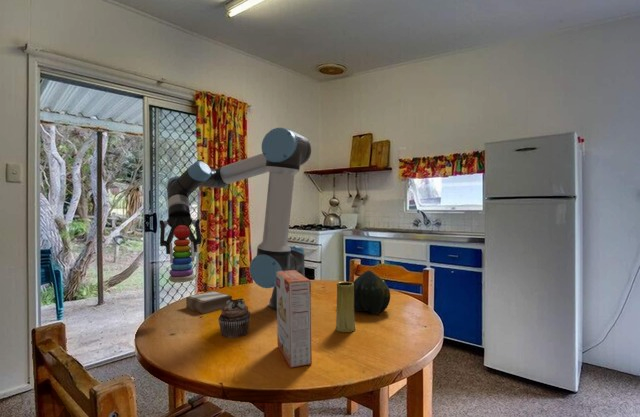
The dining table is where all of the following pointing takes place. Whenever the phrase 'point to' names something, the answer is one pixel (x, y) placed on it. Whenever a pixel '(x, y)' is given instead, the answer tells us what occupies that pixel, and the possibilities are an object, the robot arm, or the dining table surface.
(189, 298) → the plinth
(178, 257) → the stacking toy
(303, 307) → the cracker box
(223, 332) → the cupcake
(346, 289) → the vase
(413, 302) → the dining table surface
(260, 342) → the dining table surface
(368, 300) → the squash
